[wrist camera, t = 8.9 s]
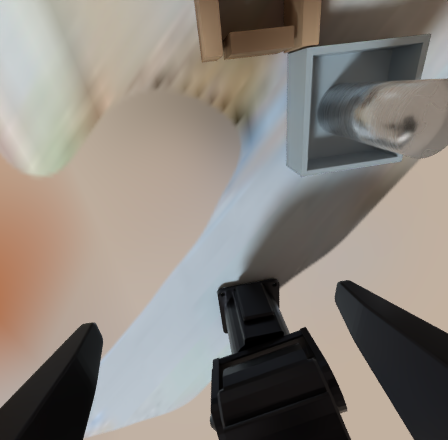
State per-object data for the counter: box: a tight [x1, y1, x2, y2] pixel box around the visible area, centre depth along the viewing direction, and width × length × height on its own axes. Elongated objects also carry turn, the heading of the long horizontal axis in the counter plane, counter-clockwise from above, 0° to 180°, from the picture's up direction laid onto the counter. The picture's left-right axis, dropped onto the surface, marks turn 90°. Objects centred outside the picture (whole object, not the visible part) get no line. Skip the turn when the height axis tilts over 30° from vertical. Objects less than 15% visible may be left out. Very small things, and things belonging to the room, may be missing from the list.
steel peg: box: [317, 79, 448, 159], centre depth 15 cm, size 4×4×8 cm
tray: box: [286, 34, 431, 177], centre depth 18 cm, size 8×8×3 cm
